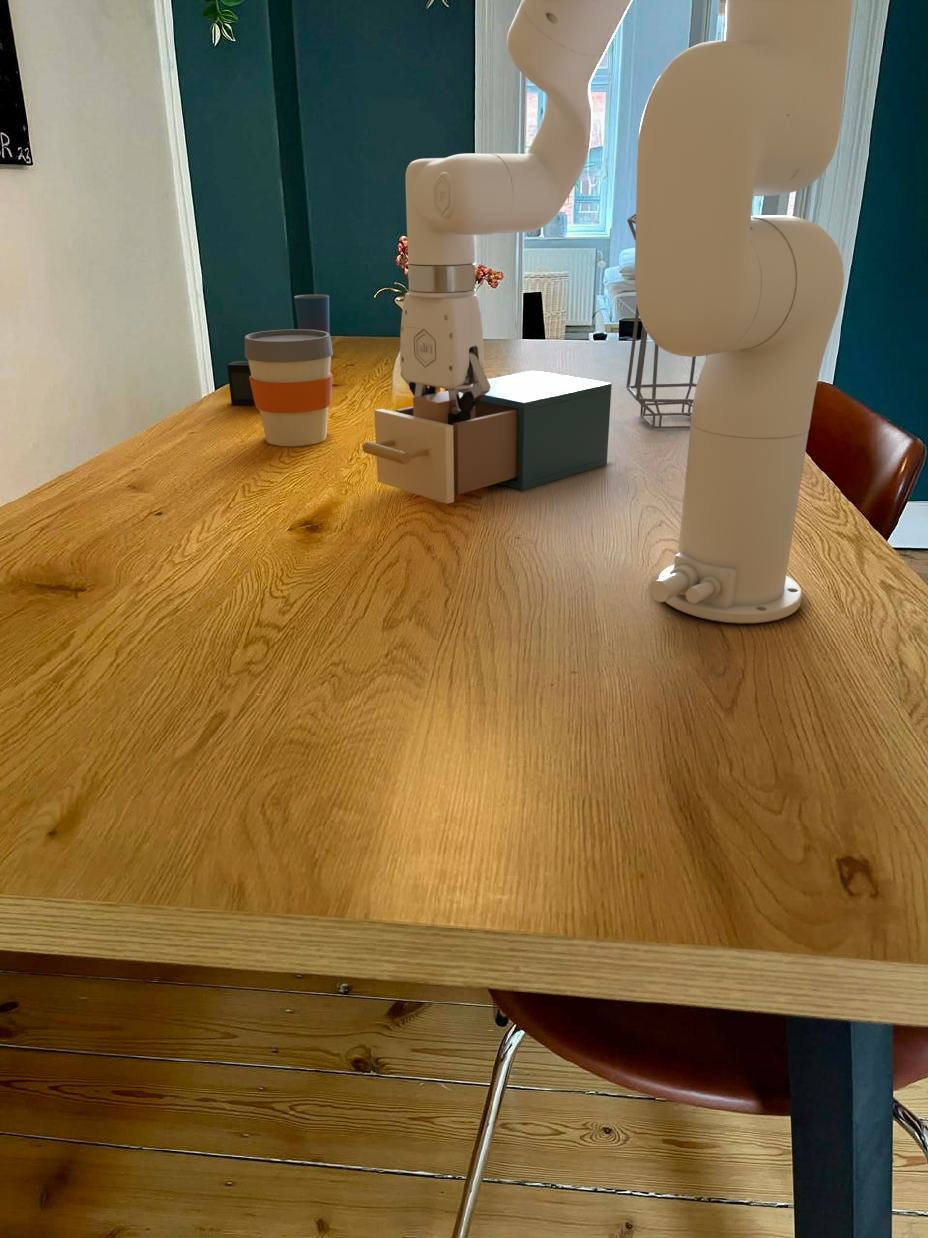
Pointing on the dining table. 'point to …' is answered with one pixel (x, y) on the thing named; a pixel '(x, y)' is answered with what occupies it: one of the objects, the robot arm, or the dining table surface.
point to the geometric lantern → (654, 375)
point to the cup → (312, 312)
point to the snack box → (434, 407)
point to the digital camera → (240, 383)
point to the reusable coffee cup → (291, 384)
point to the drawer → (445, 451)
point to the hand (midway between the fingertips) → (444, 439)
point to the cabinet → (554, 424)
